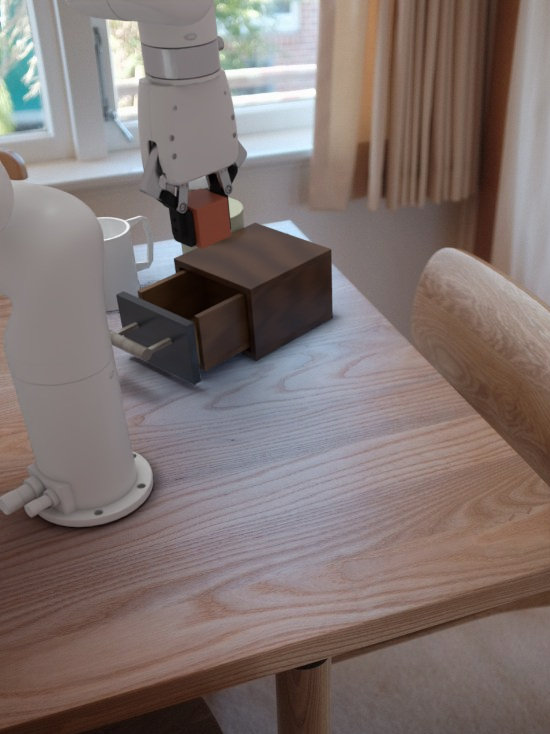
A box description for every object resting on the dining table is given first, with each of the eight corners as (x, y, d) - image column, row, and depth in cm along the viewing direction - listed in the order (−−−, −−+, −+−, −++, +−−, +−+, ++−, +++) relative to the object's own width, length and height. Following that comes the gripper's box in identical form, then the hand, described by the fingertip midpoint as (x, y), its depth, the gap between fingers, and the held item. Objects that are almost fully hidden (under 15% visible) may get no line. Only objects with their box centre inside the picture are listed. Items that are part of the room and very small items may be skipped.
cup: (174, 290, 130) (165, 221, 123) (101, 317, 124) (87, 247, 117) (143, 271, 135) (133, 205, 128) (71, 296, 128) (56, 228, 122)
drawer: (164, 402, 106) (154, 342, 100) (96, 366, 112) (83, 308, 107) (272, 341, 116) (268, 284, 111) (205, 312, 123) (198, 257, 117)
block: (201, 249, 99) (196, 210, 96) (175, 238, 102) (170, 199, 99) (231, 236, 102) (227, 197, 99) (205, 225, 104) (200, 187, 101)
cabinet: (256, 361, 114) (250, 289, 108) (182, 327, 121) (173, 258, 115) (332, 317, 123) (331, 248, 117) (260, 288, 130) (255, 222, 124)
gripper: (219, 36, 96) (235, 204, 108) (88, 71, 87) (121, 251, 99) (268, 47, 93) (279, 220, 104) (137, 86, 83) (166, 271, 95)
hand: (202, 234), depth 102 cm, fingers closed on block, 4 cm apart
